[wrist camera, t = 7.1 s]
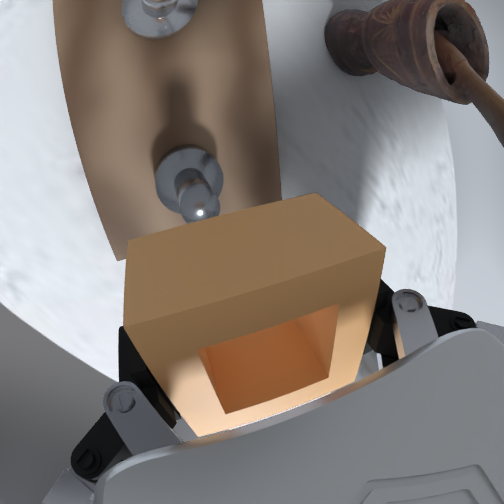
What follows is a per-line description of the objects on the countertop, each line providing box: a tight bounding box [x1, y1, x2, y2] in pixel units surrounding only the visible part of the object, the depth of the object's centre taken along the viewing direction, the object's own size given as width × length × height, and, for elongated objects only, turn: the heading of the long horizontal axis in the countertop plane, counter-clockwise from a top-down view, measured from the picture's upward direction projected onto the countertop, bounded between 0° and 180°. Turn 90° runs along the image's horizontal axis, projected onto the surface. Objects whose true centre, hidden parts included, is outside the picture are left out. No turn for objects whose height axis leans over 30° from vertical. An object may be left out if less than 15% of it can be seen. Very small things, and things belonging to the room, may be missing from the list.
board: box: [53, 0, 282, 261], centre depth 20 cm, size 16×26×2 cm, turn 6°
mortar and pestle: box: [325, 0, 504, 147], centre depth 15 cm, size 12×9×20 cm
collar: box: [123, 193, 386, 437], centre depth 10 cm, size 7×7×4 cm
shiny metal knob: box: [155, 144, 224, 224], centre depth 20 cm, size 5×5×7 cm
